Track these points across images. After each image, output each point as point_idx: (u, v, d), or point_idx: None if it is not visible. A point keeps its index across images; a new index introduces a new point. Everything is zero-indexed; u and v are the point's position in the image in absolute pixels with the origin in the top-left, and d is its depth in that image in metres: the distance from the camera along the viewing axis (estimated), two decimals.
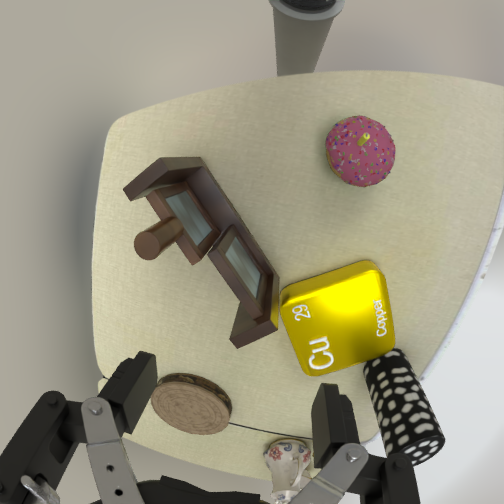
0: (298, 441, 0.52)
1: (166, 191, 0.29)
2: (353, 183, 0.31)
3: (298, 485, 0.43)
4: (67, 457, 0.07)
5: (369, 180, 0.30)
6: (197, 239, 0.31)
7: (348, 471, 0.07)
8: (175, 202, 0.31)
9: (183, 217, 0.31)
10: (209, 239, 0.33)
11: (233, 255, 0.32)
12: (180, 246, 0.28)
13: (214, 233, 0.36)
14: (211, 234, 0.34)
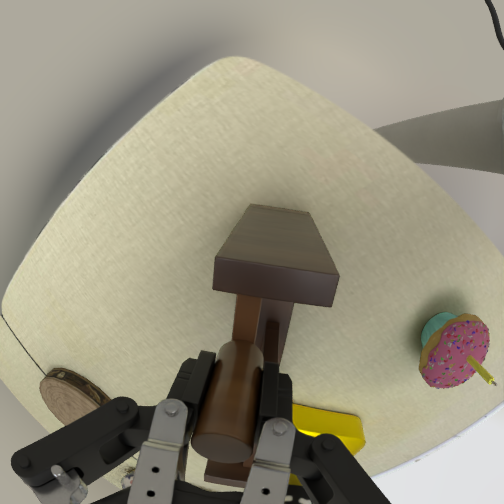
0: None
1: None
2: (426, 378, 0.22)
3: None
4: (118, 461, 0.08)
5: (439, 385, 0.22)
6: None
7: (270, 443, 0.08)
8: None
9: None
10: None
11: None
12: None
13: None
14: None
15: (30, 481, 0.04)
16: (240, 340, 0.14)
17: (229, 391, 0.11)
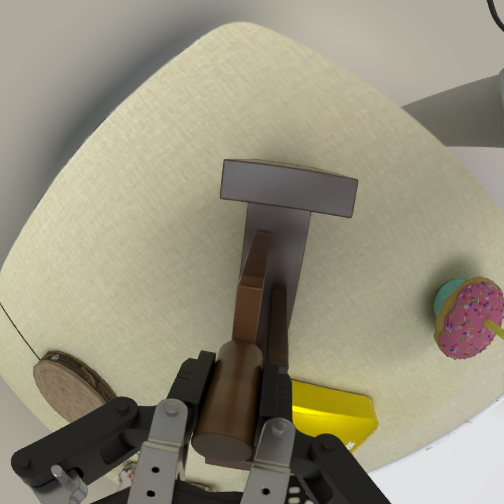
0: None
1: None
2: (442, 347, 0.21)
3: None
4: (118, 461, 0.08)
5: (456, 355, 0.21)
6: None
7: (270, 444, 0.08)
8: None
9: None
10: None
11: None
12: None
13: None
14: None
15: (30, 481, 0.04)
16: (240, 340, 0.14)
17: (229, 391, 0.11)
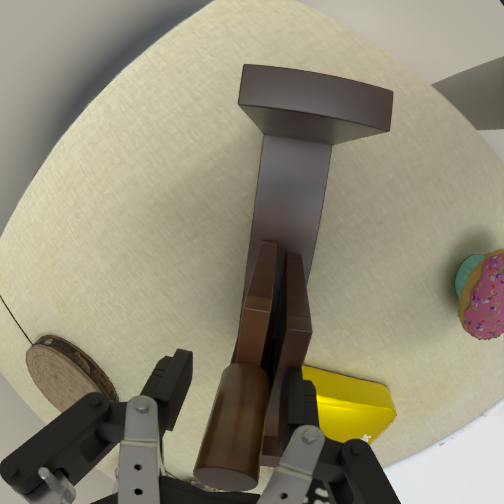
0: None
1: None
2: (467, 325, 0.19)
3: None
4: (98, 457, 0.08)
5: (481, 334, 0.18)
6: None
7: (302, 452, 0.08)
8: None
9: None
10: None
11: None
12: None
13: None
14: None
15: (21, 488, 0.04)
16: (245, 362, 0.13)
17: (233, 421, 0.10)
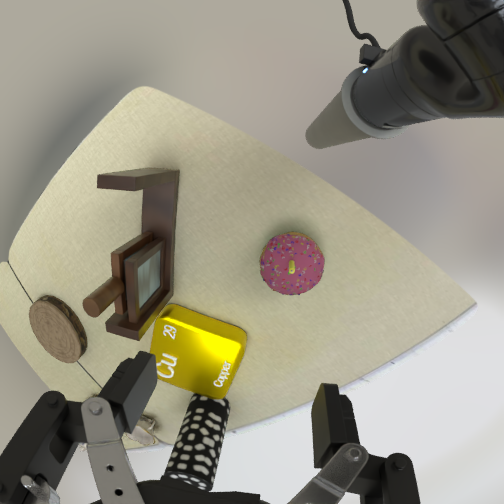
0: None
1: (128, 252, 0.34)
2: (266, 282, 0.38)
3: None
4: (67, 457, 0.07)
5: (279, 289, 0.37)
6: None
7: (348, 471, 0.07)
8: None
9: None
10: None
11: (145, 267, 0.36)
12: None
13: None
14: None
15: None
16: (114, 276, 0.32)
17: (99, 289, 0.29)
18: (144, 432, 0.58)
